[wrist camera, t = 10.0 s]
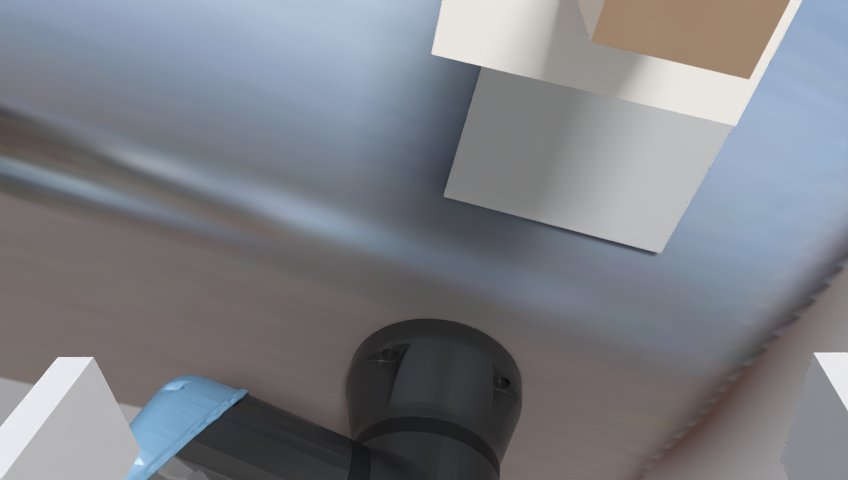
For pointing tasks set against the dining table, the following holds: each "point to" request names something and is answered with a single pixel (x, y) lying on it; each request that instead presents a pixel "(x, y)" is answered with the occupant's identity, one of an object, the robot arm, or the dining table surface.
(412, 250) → the dining table surface
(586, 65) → the square plate with block
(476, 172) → the mat
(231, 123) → the dining table surface
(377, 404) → the robot arm
